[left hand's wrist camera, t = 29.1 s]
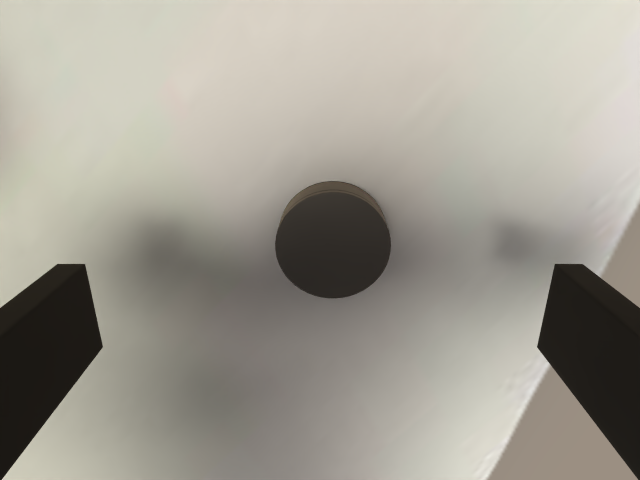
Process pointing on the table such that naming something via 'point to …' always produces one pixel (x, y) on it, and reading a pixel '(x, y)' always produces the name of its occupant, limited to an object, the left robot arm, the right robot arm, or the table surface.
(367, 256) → the cap
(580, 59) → the table surface
